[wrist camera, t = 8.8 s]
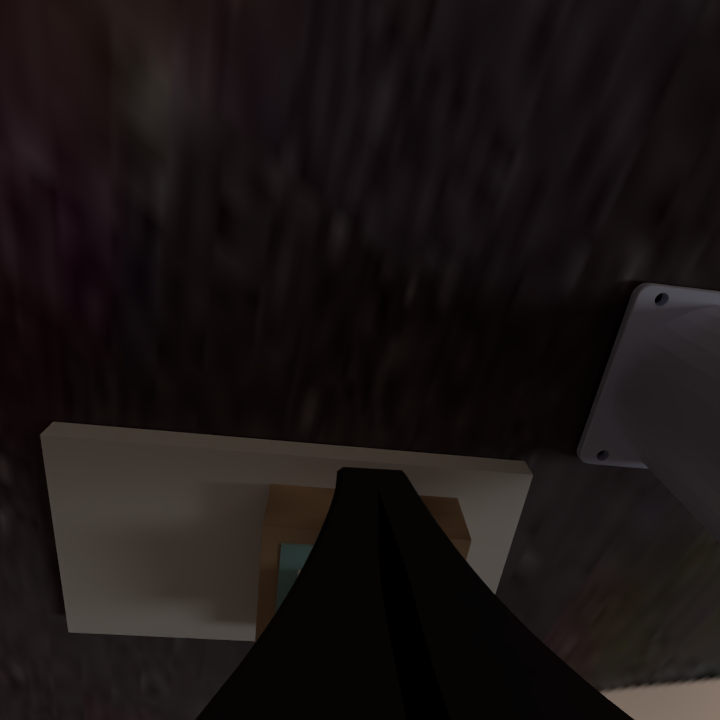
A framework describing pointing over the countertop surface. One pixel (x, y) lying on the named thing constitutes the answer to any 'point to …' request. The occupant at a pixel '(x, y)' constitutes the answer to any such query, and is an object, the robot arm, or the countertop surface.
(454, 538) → the walnut block
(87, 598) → the baseplate
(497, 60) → the countertop surface
